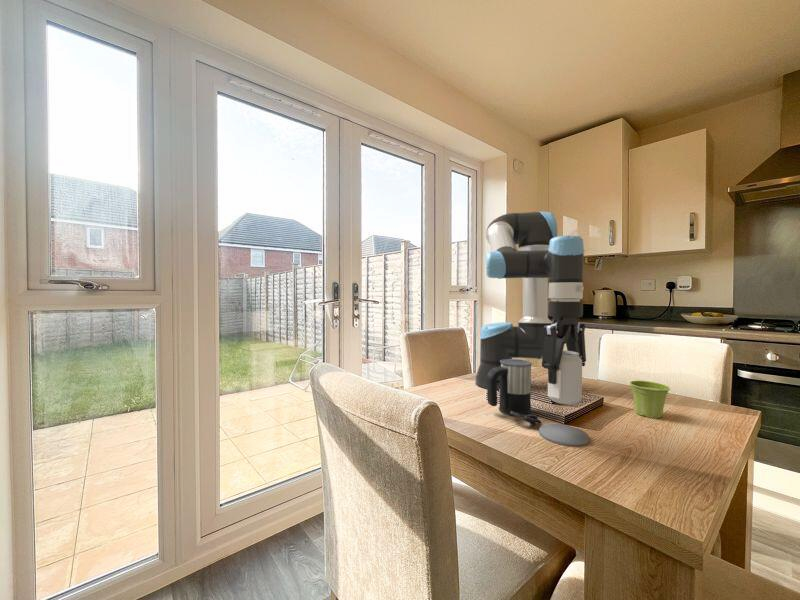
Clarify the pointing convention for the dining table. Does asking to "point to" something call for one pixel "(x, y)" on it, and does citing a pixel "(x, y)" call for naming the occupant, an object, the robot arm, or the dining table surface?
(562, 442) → the coaster
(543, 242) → the robot arm
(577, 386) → the can
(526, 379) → the milk frother
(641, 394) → the plant pot
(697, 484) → the dining table surface
